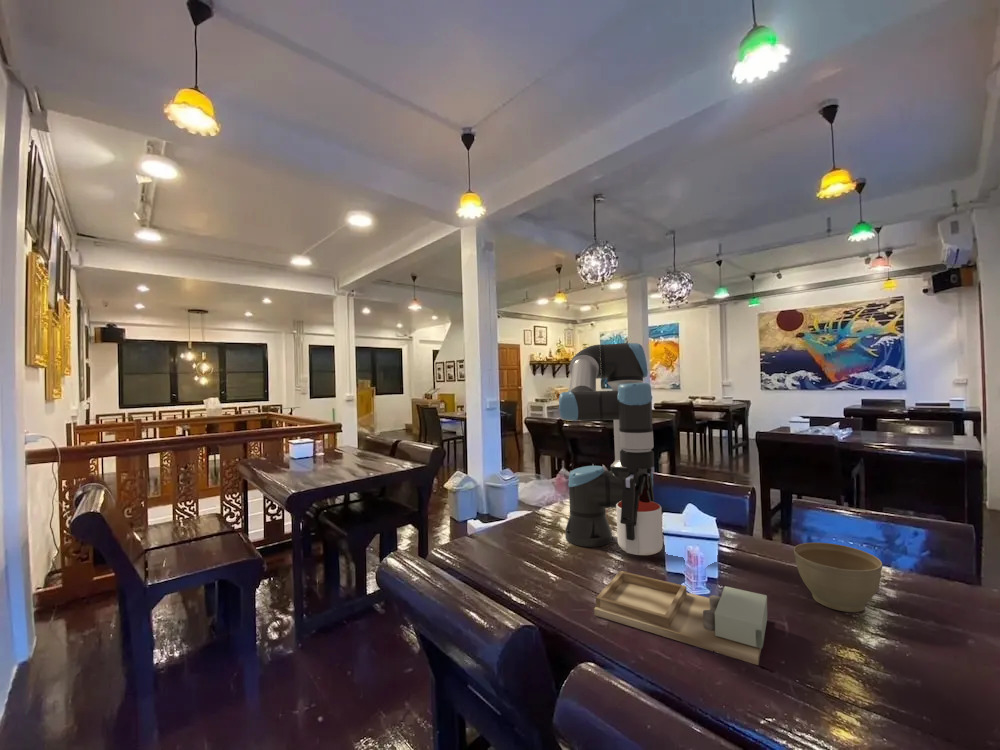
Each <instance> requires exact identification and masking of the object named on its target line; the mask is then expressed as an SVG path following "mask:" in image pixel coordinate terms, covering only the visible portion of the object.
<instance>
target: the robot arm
mask: <svg viewBox="0 0 1000 750" xmlns="http://www.w3.org/2000/svg"><path fill="white" fill-rule="evenodd" d="M568 368H569V369H568V370H569V374H570V382H569V388H568V389H569V390H568V391H563V392H561V393H560V394H559V397H558V406H559V407H558V408H559V409H558V411H559V416H560V419H562V420H563V421H573V422H576V421H613V436H614V437H613V440H614V461H613V463H611V464H610V470H608V471H607V470H605V468H604V466H601V465H586V466H581V467H577V468H574V469H573V470H571V471H570V472H569V474H568V486H567V487H568V489H569V490H568V494H569V497H568V499H569V516H568V520H567V523H566V527H565V531H564V533H565V540H566V541H567V542H568V543H570V544H573V545H575V546H580V547H586V548H587V547H588V548H590V547H594V548H595V547H602V546H606V545H608V544H610V543H612V541H613V533H612V529H611V526H610V523H609V521H608V520H609V519H608V517H607V516H606V514H607V513H606V509H607V508H608V509H616V504H617V503H618V502H620V501H622V509H621V520H620V522H621V524H625V539H626V551H625V553H627V554H629V555H630V554H631V555H636V556H640V555H639V536H638V524H636V521H637V512H638V506H639V500H640V501H641V502H645V503H648V502H650V501H652V502H655V495H654V494H655V493H654V473H653V472H652V468H653V467H654V466H655V451H653V450H652V449H654V430H653V404H652V403H653V401H652V400H653V396H652V386H651V385H650V384H649V383H647V382H644V379H645V378H646V377H648V364H647V357H646V353H645V349H644V347H643V345H641V344H640V343H639V342H635V343H634V342H632V343H631V342H622V343H607V344H594V345H593V344H592V345H590V346H587V347H585V348H583V349H581V350H580V351H579V352H577V353H576V354H575V355H574V356H573V357H572V359H571V361H570V362H569V367H568ZM598 379H606V381H607V382H606V383H607V385H608V386H609V387H610V388H611V390H597V380H598ZM655 503H656V502H655ZM628 518H629V519H628Z"/></svg>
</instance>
